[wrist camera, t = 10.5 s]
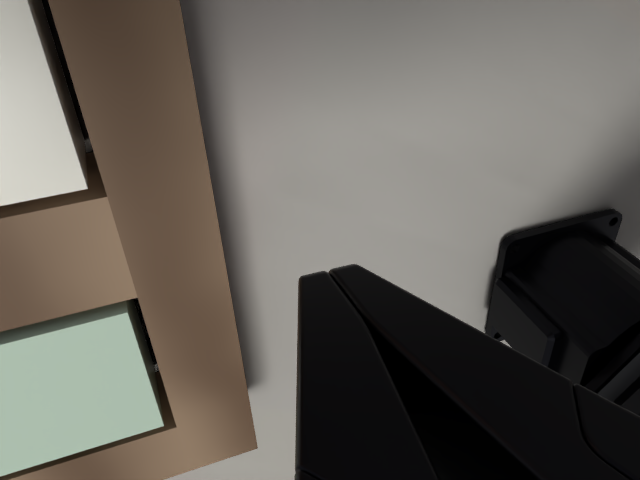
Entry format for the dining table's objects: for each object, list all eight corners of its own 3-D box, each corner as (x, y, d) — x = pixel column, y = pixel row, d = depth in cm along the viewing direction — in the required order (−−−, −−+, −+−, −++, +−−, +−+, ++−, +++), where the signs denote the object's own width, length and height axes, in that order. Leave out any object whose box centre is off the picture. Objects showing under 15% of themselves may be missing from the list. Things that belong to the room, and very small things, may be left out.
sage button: (120, 257, 20) (127, 312, 18) (154, 367, 23) (163, 425, 21) (-58, 298, 18) (-77, 364, 16) (5, 409, 22) (-3, 477, 19)
